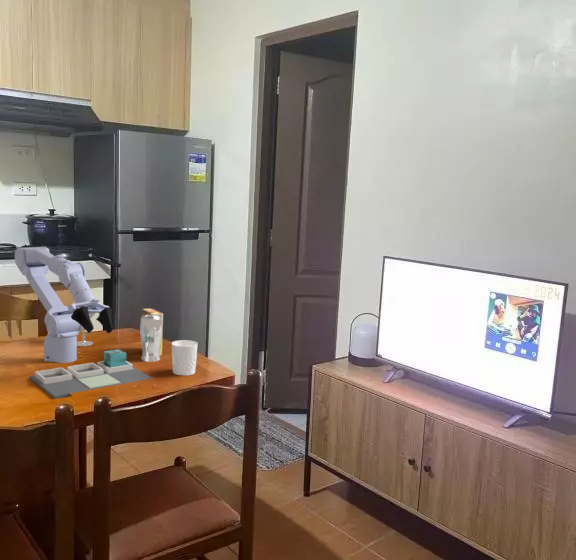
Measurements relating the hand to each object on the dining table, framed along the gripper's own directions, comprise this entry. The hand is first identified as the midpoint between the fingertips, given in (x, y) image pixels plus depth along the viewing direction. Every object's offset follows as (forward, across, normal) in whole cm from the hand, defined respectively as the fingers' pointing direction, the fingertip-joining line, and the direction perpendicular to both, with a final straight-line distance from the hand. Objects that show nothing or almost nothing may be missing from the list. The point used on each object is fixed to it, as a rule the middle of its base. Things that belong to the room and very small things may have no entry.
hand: (101, 330), depth 180 cm
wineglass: (-18, +24, +30) cm, 42 cm away
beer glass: (+6, +24, +8) cm, 26 cm away
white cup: (+20, +20, -4) cm, 29 cm away
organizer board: (+9, 0, +11) cm, 15 cm away
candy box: (+2, +30, +11) cm, 32 cm away
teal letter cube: (+6, +10, +10) cm, 16 cm away
